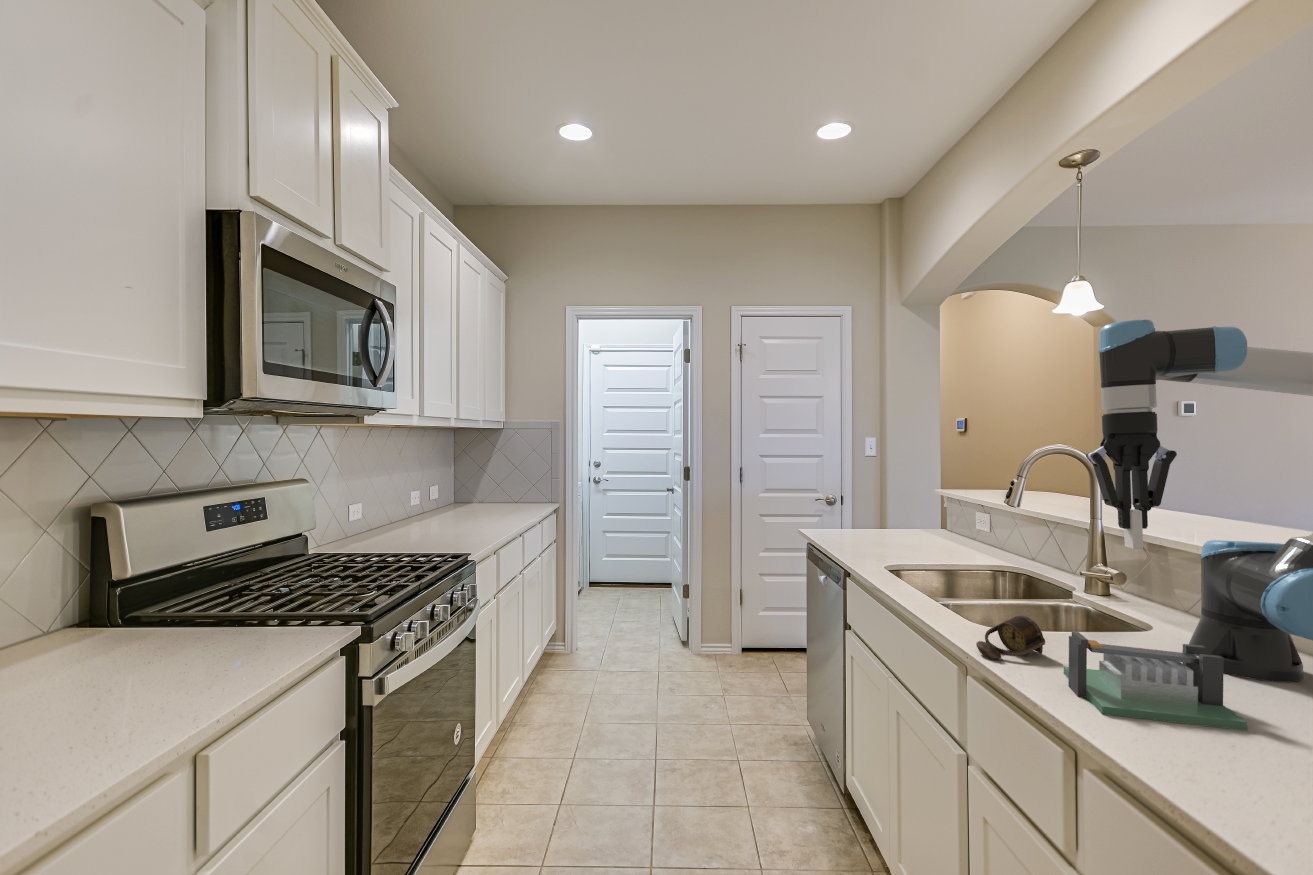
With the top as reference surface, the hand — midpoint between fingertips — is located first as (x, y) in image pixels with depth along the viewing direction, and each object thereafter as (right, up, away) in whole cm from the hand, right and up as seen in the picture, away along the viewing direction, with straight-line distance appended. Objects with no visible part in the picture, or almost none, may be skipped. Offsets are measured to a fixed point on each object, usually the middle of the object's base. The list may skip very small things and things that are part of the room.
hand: (1133, 547), depth 104 cm
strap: (-4, -16, -7) cm, 18 cm away
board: (-4, -23, -7) cm, 25 cm away
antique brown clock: (-14, -23, +13) cm, 30 cm away
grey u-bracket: (+4, -22, -9) cm, 24 cm away
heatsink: (-4, -22, -7) cm, 23 cm away
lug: (-13, -23, -4) cm, 27 cm away
